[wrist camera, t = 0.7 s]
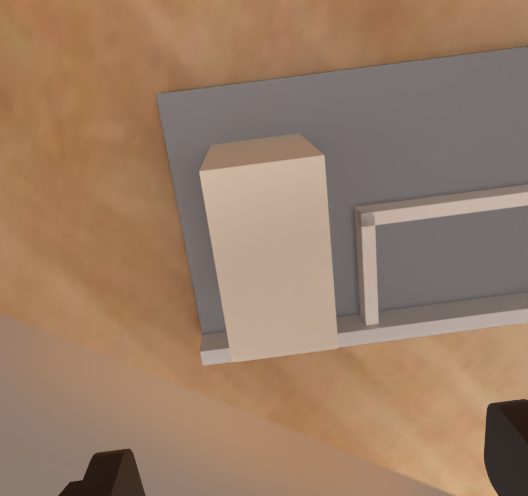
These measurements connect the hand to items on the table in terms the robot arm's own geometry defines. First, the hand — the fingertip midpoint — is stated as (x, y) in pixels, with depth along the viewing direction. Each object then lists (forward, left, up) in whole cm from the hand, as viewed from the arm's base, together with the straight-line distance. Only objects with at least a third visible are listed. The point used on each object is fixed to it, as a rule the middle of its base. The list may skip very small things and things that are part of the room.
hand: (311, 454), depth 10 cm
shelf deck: (-6, 0, -20) cm, 21 cm away
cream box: (0, 0, -18) cm, 18 cm away
